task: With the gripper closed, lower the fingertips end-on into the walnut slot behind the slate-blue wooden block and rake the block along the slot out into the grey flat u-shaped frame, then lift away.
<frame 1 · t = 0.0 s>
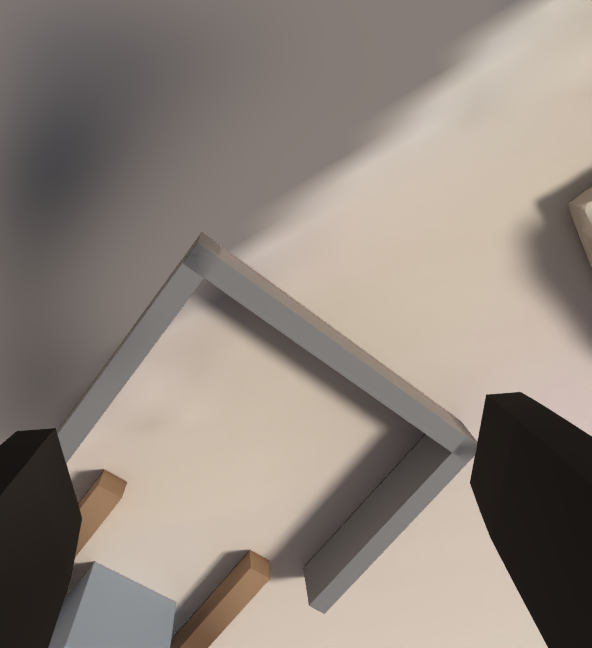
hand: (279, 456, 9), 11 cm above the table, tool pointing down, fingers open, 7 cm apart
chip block: (111, 611, 23), on the table
slot holder: (123, 598, 23), on the table
grey flat u-shaped frame: (264, 428, 21), on the table
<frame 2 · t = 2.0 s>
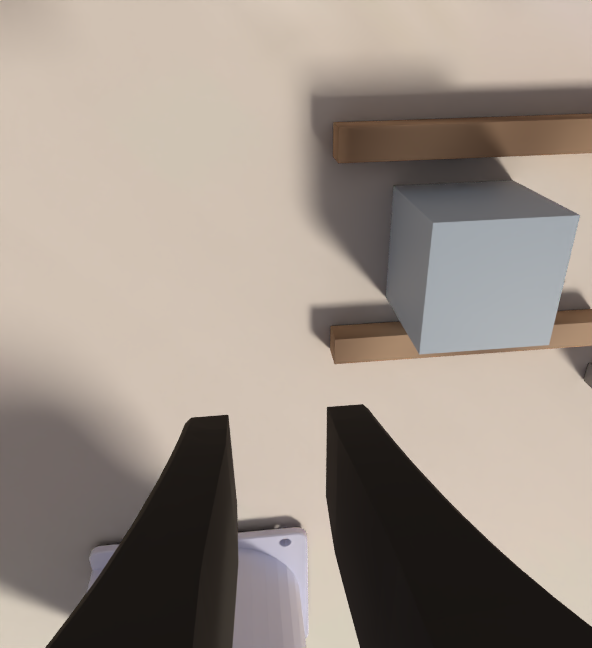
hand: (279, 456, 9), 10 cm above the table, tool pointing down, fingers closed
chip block: (445, 240, 18), on the table
slot holder: (475, 240, 18), on the table
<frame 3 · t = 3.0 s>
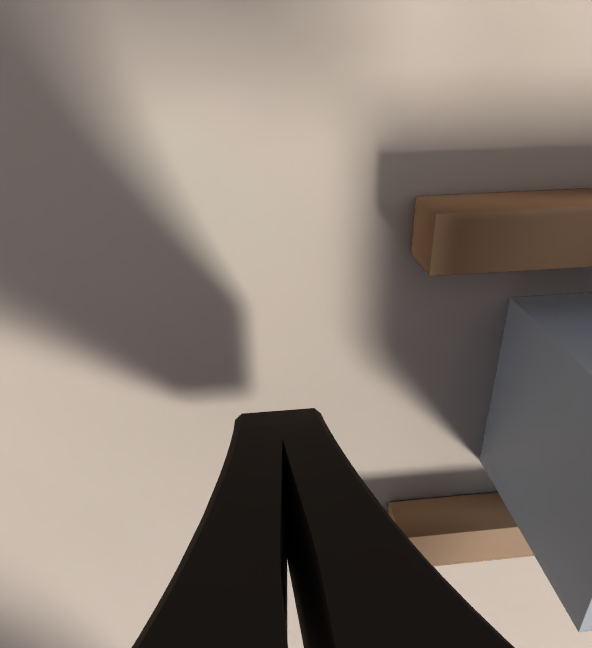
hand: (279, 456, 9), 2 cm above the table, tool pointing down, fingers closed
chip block: (584, 376, 11), on the table
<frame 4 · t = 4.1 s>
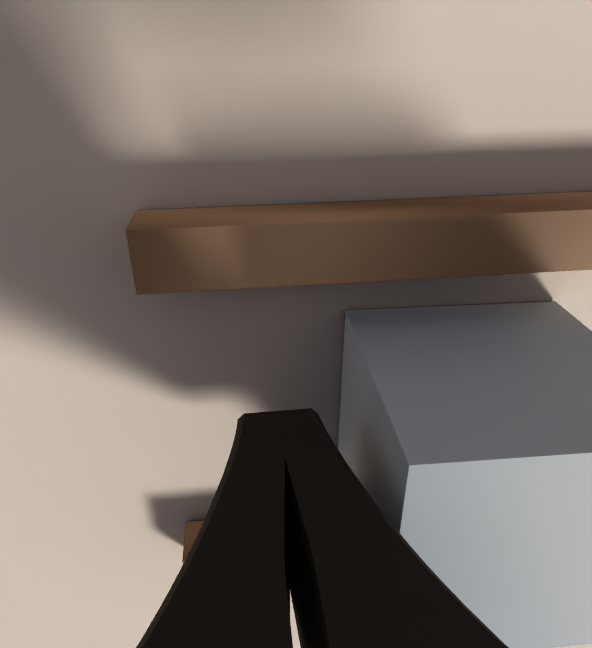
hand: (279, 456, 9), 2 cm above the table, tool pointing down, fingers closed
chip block: (438, 394, 11), on the table, touching gripper
slot holder: (420, 394, 11), on the table
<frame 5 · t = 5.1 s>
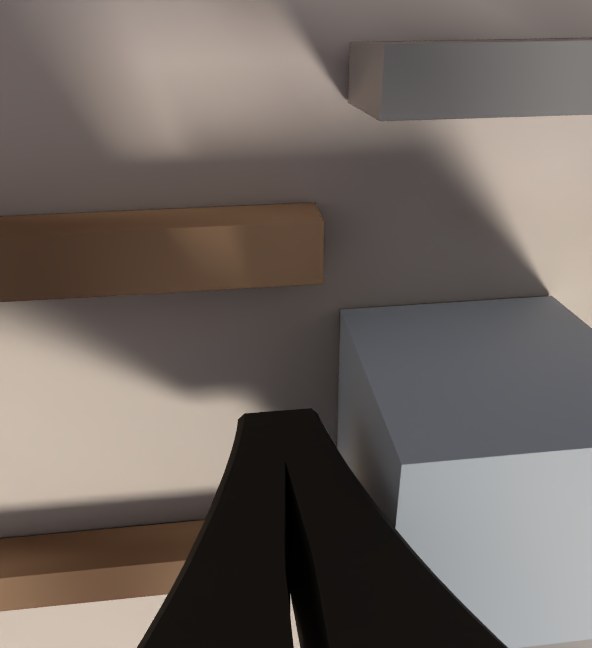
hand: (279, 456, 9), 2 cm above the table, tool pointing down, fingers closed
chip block: (436, 391, 11), on the table, touching gripper
slot holder: (54, 421, 10), on the table
grey flat u-shaped frame: (555, 383, 11), on the table
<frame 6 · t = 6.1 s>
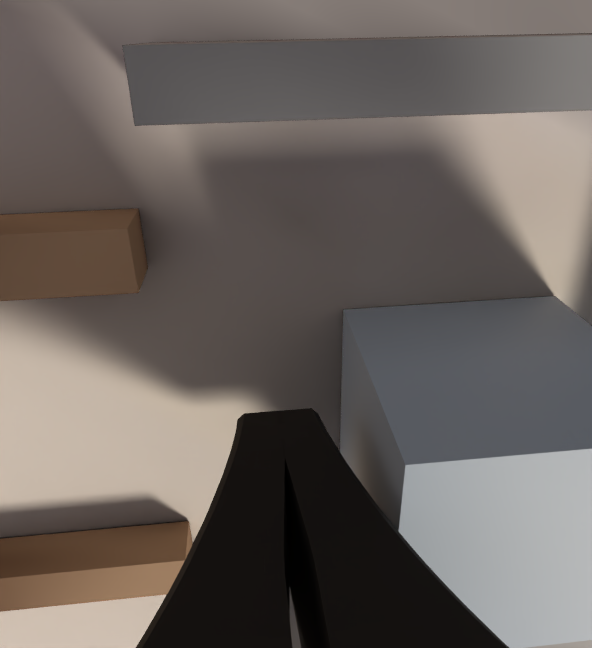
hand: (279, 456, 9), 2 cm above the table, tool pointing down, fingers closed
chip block: (439, 391, 11), on the table, touching gripper
grey flat u-shaped frame: (423, 392, 11), on the table
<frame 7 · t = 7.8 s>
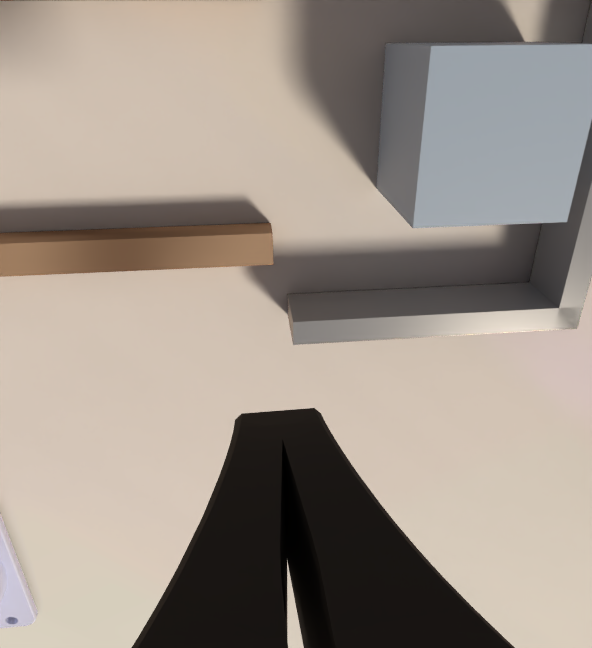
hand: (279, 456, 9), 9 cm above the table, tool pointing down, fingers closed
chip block: (446, 118, 16), on the table
slot holder: (88, 125, 15), on the table
grey flat u-shaped frame: (436, 118, 16), on the table
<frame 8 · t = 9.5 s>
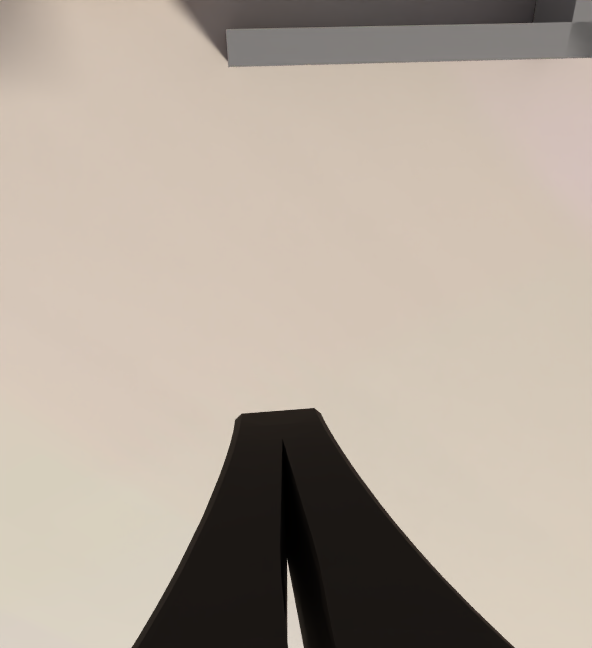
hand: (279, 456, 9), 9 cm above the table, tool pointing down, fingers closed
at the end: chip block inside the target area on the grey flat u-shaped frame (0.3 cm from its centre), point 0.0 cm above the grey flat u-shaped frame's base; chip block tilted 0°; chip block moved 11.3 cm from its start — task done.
